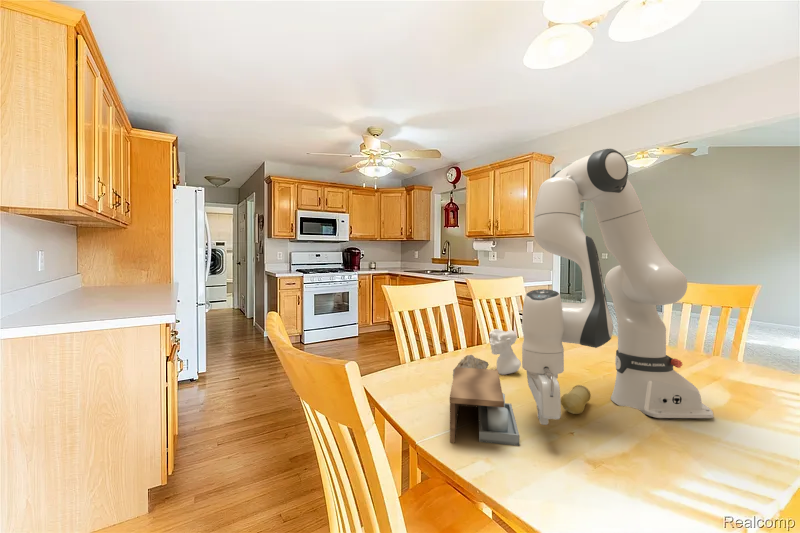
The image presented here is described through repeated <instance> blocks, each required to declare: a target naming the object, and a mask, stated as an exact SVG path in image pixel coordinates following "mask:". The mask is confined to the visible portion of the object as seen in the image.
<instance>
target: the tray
mask: <svg viewBox="0 0 800 533" xmlns="http://www.w3.org/2000/svg"><path fill="white" fill-rule="evenodd" d="M512 406H513V405H512V403H510V402H509V403H506V402H505V408H507V409H508V433H502V432H491V431H487V406H482V405H478V407H477V410H478V411H477V412H478V442H479V443H484V444H485V443H486V444H488V443H489V444H496V445H507V446H517V447H520V432H519V428H518V424H517V420H516V417H515V413H514V408H513V407H512Z"/></svg>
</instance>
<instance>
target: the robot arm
mask: <svg viewBox="0 0 800 533" xmlns="http://www.w3.org/2000/svg"><path fill="white" fill-rule="evenodd" d="M628 176H629V165H628V162H627V159H626V158H625V156H624V154H622V153H621V152H619V151H617V150H616V149H614V148H604V149H603V148H602V149H600V150H597V151H593V152H592V153H591V154H588V155H586V156H583V157H580V158H579V159H577V160H574V161H573V162H571V163H570V164H568V165H567V166H565V167H564V168H562V169H561V170H558V171H557V172H555V173H553V174H552V176H551V177H549V178H548V179H546V180H545V181H543V182H542V183H541V185H540V186H539V189H538V192H537V196H536V200H535V206H534V214H533V215H534V216H533V235H534V239H535V241H536V243H537V244H538V246H539V247H541V248H542V250H545V251H547V252H548V253H550V254H553V255H556V256H558V257H561V258H565V259H567V260H569V261H572V262H574V263H576V264H577V265H578V267H579V268H580V270H581V275H582V282H583V287H584V291H585V292H584V294H585V301H584V302H580V303H579V302H564V301H562V297H561V293H560V292H559V291H556V290H553V289H546V288H545V289H541V288H539V289H534V290H531V291H529V292H528V291H527V293H526V294H525V295H524V300H523V306H522V317H521V329H522V334H523V340H522V341H523V342H522V347H521V348H522V349H521V351H522V352H521V354H522V355H521V357H522V358H521V359H522V362H521V366H522V369H524V370H525V371H526V378H527V384H528V388H529V389H530V392H531V394H532V397H533V400H534V401H535V404H536V409H537V410H536V411H537V419H538V421H539V424H540V425H544V426H545V425H546V426H547V425H548V424H549V420H560V419H561V416H562V404H561V386H560V383H559V381H558V378H559V375H560V374H562V373H564V371H565V363H564V362H565V360H564V359H565V358H564V357H565V354H564V353H565V350H564V348H565V347H564V345H563V343H567V344H575V345H577V344H578V345H581V346H585V347H590V348H595V349H598V348H601V347H602V346H604V345H605V344H607V343H608V342H610V340H611V339H612V336H613V332H614V323H613V319H612V315H611V313H610V309H609V307H608V303H607V296H606V292H605V287H606V289H607V290H608V292H609V294H610V296H611V299H612V303H613V308H614V311H615V316H616V320H617V350H616V351H615V352H616V353H615V359H614V360H615V361H614V362H615V370H616V376H615V382H614V386H613V387H614V388H613V390H612V394H611V396H610V400H611V401H612V402H613V403H614V404H616V405H618V406H619V407H629V408H633V409H635V410H639V411H640V412H641V413H642V414H644V415H647V416H649V417H653V418H657V419H714V411H713V410H712V409H711V408H710V407H709V406H708V405H706V404H704V403H703V402H702V397H701V394H700V391H699V389H698V388H697V387H696V386H695V384H693V383H692V382H691V381H689V380H688V379H687V378H685V377H684V376H682V374H680V373H678V372H677V371H676V370H674V367H675V368H678V369H680V368H681V367H682V366H683V361H681V360H680V359H678V358H673V357H671V356H669V355H667V328H666V325H665V323H664V321H662V319H661V317H660V314H659V313H658V309H657V306H665V305H671V304H675V303H677V302H679V301H680V300H682V299H683V298H684V296H685V295H686V293H687V289H688V280H687V277H686V276H685V274H684V273H683V272H682V271H681V269H678V268H677V267H676V266H674V265H673V264H672V263H671V262H670V261H669V259H668V258H667V257H666V255H665V254H664V253H663V251H662V249H661V248H660V246H659V244H658V243H657V241H656V240H655V238H654V236H653V234H652V232H651V229H650V226H649V224H648V220H647V217H646V215H645V212H644V208H643V205H642V203H641V200H640V198H639V196H638V194H637V191H636V189H635V188H634V185H632V183H631V181H630V179H629V177H628ZM588 201H590V202H591V203H592V205H593V209H594V214H595V218H596V221H597V224H598V228H599V230H600V232H601V236H602V240H603V243H604V245H605V248H606V249H607V251H608V252H609V253H610V254H611V255H612V256H613V257H614V258H615V260H616V262H617V263H618V264H619V265H616V266H614V267H612V268H611V269H610V270H609V271H608V272H607V273H606V275H605V278H604V280H603V275H602V274H603V273H602V268H601V263H600V258H599V253H598V249H597V247H596V244H595V242H594V239H593V238H592V237H590V236H588V235H586V233H585V232H584V230H583V228H582V222H581V203H585V202H588ZM604 283H605V286H604Z"/></svg>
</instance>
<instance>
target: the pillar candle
mask: <svg viewBox="0 0 800 533" xmlns="http://www.w3.org/2000/svg"><path fill="white" fill-rule="evenodd" d="M487 431H491V432H502V433H508V409H507V408H505V407H494V406H489V407H488V408H487Z"/></svg>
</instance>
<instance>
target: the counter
mask: <svg viewBox="0 0 800 533" xmlns="http://www.w3.org/2000/svg"><path fill="white" fill-rule="evenodd" d="M455 367H456V366H455ZM455 367H454V369H455V373H454V378H453V377H452V383H451V384H452V385H451V389H450V394H449V442H450V443H453V444H454V443H455V442H456V435H457V426H458V417H459V410H460V407H469V408H478V405H482V406H494V407H504V399H503V394H502V393H503V390H502V384H501V380H500V374H499V373H498V370H497V369H491V368H490V369H489V368H487V369H475V368H458V367H456V368H455Z"/></svg>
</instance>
